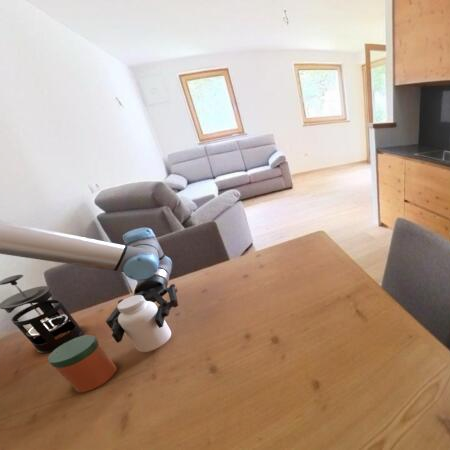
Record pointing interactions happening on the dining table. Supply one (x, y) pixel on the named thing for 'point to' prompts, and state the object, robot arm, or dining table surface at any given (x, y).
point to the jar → (89, 371)
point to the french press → (41, 317)
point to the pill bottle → (142, 323)
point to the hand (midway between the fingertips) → (138, 330)
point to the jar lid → (73, 351)
